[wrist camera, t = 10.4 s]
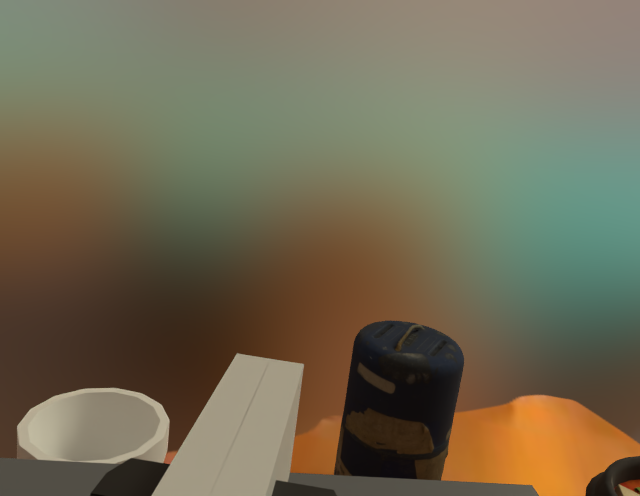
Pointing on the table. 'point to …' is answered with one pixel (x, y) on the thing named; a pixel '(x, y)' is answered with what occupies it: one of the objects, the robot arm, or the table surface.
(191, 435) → the robot arm
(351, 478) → the switch panel
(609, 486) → the casserole
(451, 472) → the table surface
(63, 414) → the foam cup
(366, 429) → the canister
